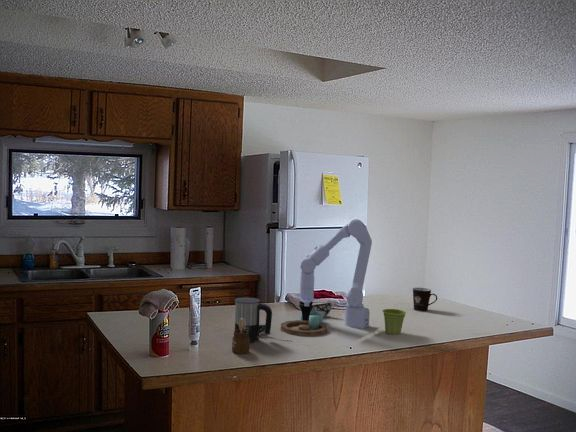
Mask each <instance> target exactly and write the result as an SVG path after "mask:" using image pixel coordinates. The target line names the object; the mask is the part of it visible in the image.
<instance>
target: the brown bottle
mask: <svg viewBox="0 0 576 432" xmlns="http://www.w3.org/2000/svg"><path fill="white" fill-rule="evenodd" d="M240 321H241V325H240ZM242 321H243V322H242ZM244 321H246V320H244V319H241V320H240V319H239V329H240V328H241V329H240V330H235V329H234V330H233V336H232V343H231V350H232V351H231V352H232V353H234V354H238V355H243V354H248V353H249V352H250V343H251V342H250V339H249V332H248V331H247V330H245V329H244V330H242V328H244V327H246V326H244Z"/></svg>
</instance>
